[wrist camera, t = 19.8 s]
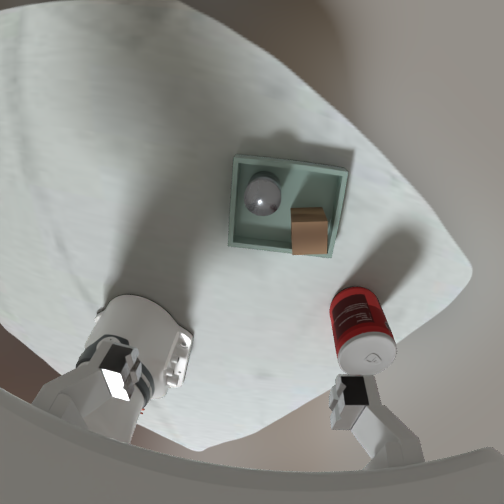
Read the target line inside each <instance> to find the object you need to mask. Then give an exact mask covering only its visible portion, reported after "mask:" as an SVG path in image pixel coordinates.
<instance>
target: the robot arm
mask: <svg viewBox="0 0 504 504" xmlns="http://www.w3.org/2000/svg"><path fill="white" fill-rule="evenodd" d="M94 321H95V324H96V325H95V327H94V328H93V330H92V332H91V334H90V336H89V338H88V340H87V341H86V343H85V351H84V352H83V353H82V354H81V356H80V357H79V360H78V362H77V364H76V369H74V370H72V371H70V372H68V373H66V374H64V375H62V376H60V377H58V378H56V379H54V380H52V381H50V382H48V383H46V384H44V385H43V387H42V389H41V390H40V392H39V393H38V395H37V396H36V398H35V399H34V401H33V403H32V404H29V403H27V402H25V401H23V400H22V399H20V398H18V397H16V396H14V395H13V394H11V393H9V392H7V391H5V390H4V389H2V388H0V504H504V455H502V454H501V453H500V452H499V451H497V450H496V449H494V448H493V447H486V448H481V449H478V450H474V451H471V452H468V453H464V454H460V455H456V456H451V457H447V458H443V459H438V460H433V461H428V462H425V460H424V456H423V452H422V448H421V444H420V440H419V438H418V437H417V436H416V435H415V434H414V433H413V432H412V431H411V430H410V429H408V427H407V426H406V425H405V424H404V423H403V422H402V421H401V420H400V419H399V418H398V417H396V416H395V415H394V414H393V413H392V412H391V411H390V410H389V409H388V408H387V407H386V406H385V405H382V404H381V400H380V396H379V392H378V388H377V384H376V380H375V377H374V375H349V374H338V376H337V377H336V379H335V383H336V385H334V386H333V387H332V389H331V391H330V396H329V408H330V409H331V410H332V411H333V412H332V414H331V416H330V420H331V429H333V430H351V432H352V433H353V435H354V436H355V437H356V439H357V440H358V442H359V443H360V444H361V446H362V447H363V448H364V450H365V451H366V452H367V454H368V455H369V456H370V458H371V459H372V460H371V461H370V462H369V463H368V464H367V465H366V467H364V468H363V470H359V471H341V472H340V471H339V472H293V471H274V470H261V469H250V468H242V467H234V466H226V465H220V464H213V463H207V462H201V461H196V460H191V459H186V458H181V457H177V456H172V455H168V454H164V453H160V452H156V451H152V450H148V449H145V448H141V447H138V446H134V445H131V444H130V442H131V438H132V435H133V432H134V429H135V426H136V423H137V420H138V418H139V415H140V414H143V413H142V412H141V410H145V409H144V407H145V406H146V405H147V403H149V402H150V400H151V399H160V398H163V397H165V396H166V394H167V392H168V389H169V388H177V387H181V386H182V384H183V382H184V378H185V373H186V368H187V364H188V359H189V355H190V350H191V346H192V341H193V336H192V335H191V334H190V333H189V332H188V331H187V330H185V329H184V328H182V327H180V326H179V325H178V324H177V323H176V322H175V321H174V319H173V318H172V317H171V316H170V315H169V314H168V313H167V312H166V311H165V310H164V309H163V308H162V307H160V306H159V305H157V304H156V303H154V302H152V301H150V300H148V299H146V298H143V297H140V296H135V295H122V296H118V297H116V298H114V299H113V300H111V301H110V302H109V304H108V305H107V307H106V309H105V310H104V311H102V312H100V313H98V314H97V315H96V317H95V319H94Z"/></svg>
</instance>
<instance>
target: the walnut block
mask: <svg viewBox="0 0 504 504" xmlns="http://www.w3.org/2000/svg"><path fill="white" fill-rule="evenodd" d="M290 211H291V240H292V255H310V254H327V237H328V221H327V218H326V215H325V213H324V210H323V208H322V207H306V208H290Z"/></svg>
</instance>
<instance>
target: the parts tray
mask: <svg viewBox="0 0 504 504" xmlns="http://www.w3.org/2000/svg"><path fill="white" fill-rule="evenodd" d="M260 171H268V172H271V173H273V174H275V175H276V176H277V177H278V179H279V180H280V183H281V204H280V206H279V208H278V209H277V210H276V211H275V212H274V213H273V214H271V215H268V216H258V215H255V214H253V213H251V212H250V211H249V210H248V209H247V207H246V206H245V203H244V193H245V190H246V188H247V185H248V183H249V180H250V178H251V177H252V176H253V175H254V174H256V173H257V172H260ZM347 177H348V171H347V170H346V169H345V168H342V167H336V166H330V165H323V164H316V163H309V162H302V161H294V160H286V159H278V158H269V157H260V156H250V155H238V154H236V155H235V156H234V158H233V171H232V186H231V201H230V216H229V233H228V246H231V247H239V248H248V249H256V250H265V251H273V252H282V253H291V254H292V240H291V211H290V208H306V207H322V208H323V210H324V213H325V215H326V218H327V221H328V237H327V254H310V255H307V256H316V257H324V258H332V253H333V249H334V244H335V239H336V235H337V230H338V225H339V220H340V215H341V210H342V205H343V199H344V194H345V188H346V183H347Z"/></svg>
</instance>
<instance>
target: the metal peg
mask: <svg viewBox="0 0 504 504" xmlns="http://www.w3.org/2000/svg"><path fill="white" fill-rule="evenodd" d="M244 203H245V206H246V207H247V209H248V210H249V211H250V212H251V213H253V214H255V215H258V216H268V215H271V214H273V213H274V212H275V211H276V210H277V209H278V208H279V206H280V204H281V183H280V180H279V179H278V177H277V176H276V175H275V174H273V173H271V172H268V171H260V172H257V173H256V174H254V175H253V176H252V177H251V178H250V180H249V183H248V185H247V188H246V190H245V193H244Z"/></svg>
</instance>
